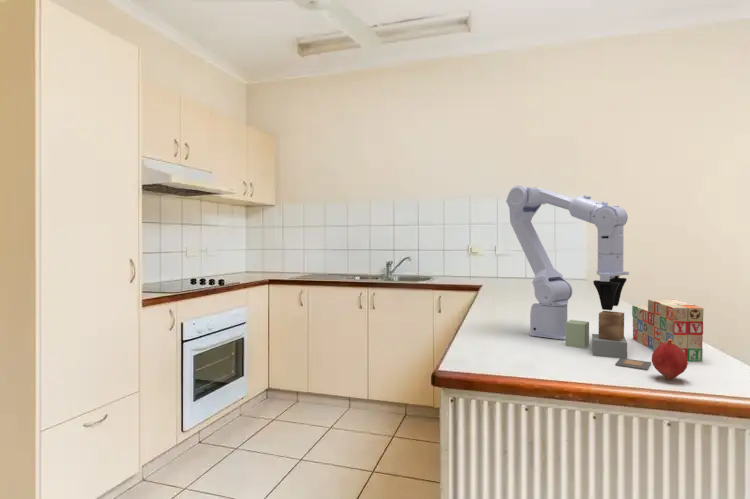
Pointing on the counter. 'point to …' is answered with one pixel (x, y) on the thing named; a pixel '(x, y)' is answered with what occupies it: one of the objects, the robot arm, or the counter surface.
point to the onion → (669, 360)
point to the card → (633, 364)
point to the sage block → (577, 333)
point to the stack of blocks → (670, 325)
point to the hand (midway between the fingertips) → (610, 307)
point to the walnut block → (611, 325)
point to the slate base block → (609, 347)
